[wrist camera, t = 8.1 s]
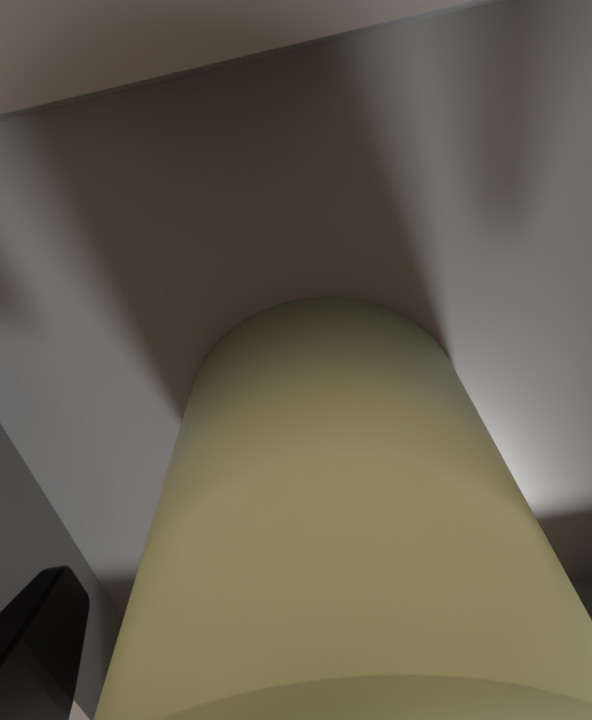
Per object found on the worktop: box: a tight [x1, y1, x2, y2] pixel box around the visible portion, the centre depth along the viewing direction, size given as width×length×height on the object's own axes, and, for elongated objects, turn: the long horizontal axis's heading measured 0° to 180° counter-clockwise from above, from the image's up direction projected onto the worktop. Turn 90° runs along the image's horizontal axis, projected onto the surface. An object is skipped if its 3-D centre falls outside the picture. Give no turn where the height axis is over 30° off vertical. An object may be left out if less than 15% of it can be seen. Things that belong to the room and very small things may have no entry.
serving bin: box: [0, 0, 592, 720], centre depth 10 cm, size 16×16×4 cm
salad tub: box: [93, 297, 592, 720], centre depth 8 cm, size 6×6×7 cm
